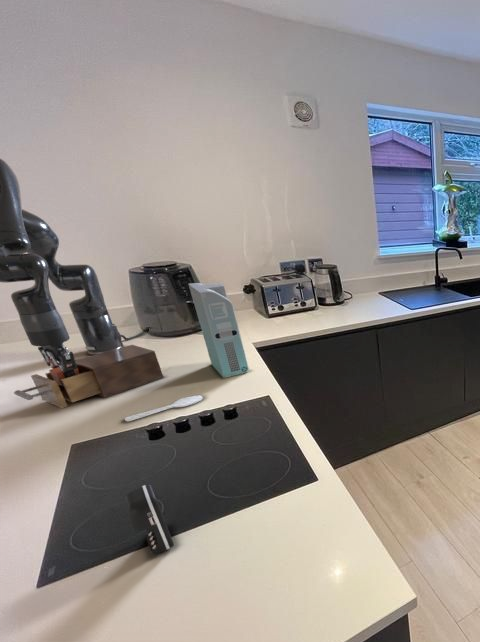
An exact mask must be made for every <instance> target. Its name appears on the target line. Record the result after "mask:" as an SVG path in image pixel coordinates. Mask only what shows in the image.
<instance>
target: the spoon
mask: <svg viewBox="0 0 480 642" xmlns="http://www.w3.org/2000/svg"><path fill="white" fill-rule="evenodd" d="M203 399H204V396H203V395H201V394H200V395H192V396H191V395H190V396H186V397H183V398H180V399H177V400H176V401H174V402H173V403H172V404H167V405H164V406H161V407H157V408H153V409H151V410H147V411H142V412H139V413H137V414H132V415H130V416H127V417H124V420H125V422H131V421H135V420H138V419H141V418H145V417H147V416H151V415H154V414H156V413H159V412H163V411H166V410H169V409H172V408H184V407H187V406H191V405H194V404H197V403H199V402H200V401H202V400H203Z"/></svg>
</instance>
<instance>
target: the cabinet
mask: <svg viewBox="0 0 480 642" xmlns="http://www.w3.org/2000/svg"><path fill="white" fill-rule="evenodd" d="M75 362H76V365H77V366H80V367H83V368H86V369H89V370H91V371H93V374H94V376H95V379H96V381H97V383H98V386H99V388H100V391H101V393H99V394H96V396H99V397H101V398H108V397H111V396H114V395H117V394H120V393H122V392H123V393H124V392H126V391H128V390H131V389H134V388H137V387H140V386H143V385H146V384H149V383H152V382H156V381H157V380H160V379H163V378H164V374H163V371H162V368H161V366H160V363H159V360H158V356H157V355H156V351H155V350H152V349H149V348H147V347H142V346H138V345H135V344H130V345H126V346H124V347H122V348H118V349H115V350H111V351H107V352H103V353H99V354H96V355H89V356H85V357H81V358H77V359H75Z"/></svg>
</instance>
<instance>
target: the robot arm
mask: <svg viewBox="0 0 480 642" xmlns="http://www.w3.org/2000/svg"><path fill="white" fill-rule="evenodd" d="M59 245H60V239H59V237H58V235H57V234H56V232H55V231H54V230H53V229H52V228H51V227H50V226H49V224H48V223H47V222H46V221H45V219H43V218H42V217H40V216H38V215H36V214H34V213H32V212H29V211H27V210H25V209H24V208H23V207H22V196H21V186H20V183H19V180H18V177H17V175H16V173H15V171H14V170H13V168H12V167H11V166H10V165H9V164H8V163H7V161H5V160H4V159H2V158H0V283H3V284H4V283H5V284H7V283H9V284H10V283H20V282H21V283H22V282H30V281H34V284H33V285H32V286H30V287H28V288H24V289H20V290H16V291H14V292H12V293H11V294H10V299H11V301H12V304H13V306H14V307H15V309H16V312H17V313H18V317H19V320H20V323H21V326H22V327H23V330H24V332H25V335H26V336H27V338H28V341H29V343H30V345H31V346H34V347H37V350H38V351H39V353H40V354H41V356H42V358H43V359H44V361H45V363H46V365H47V366H48V367H50V368H51V369H54V368H58V367H59V368H60V369H61V372H63V375H64V377H65V378H68V377H72V376H75V375H76V374H75V372H74V370H75V369H77V366H76V362H75V360H76V359H75V355H74V352H73V351H69V349H68V347H67V346H65V345H64V343H65V342H68V341H69V340H70V334H69V331H68V330H67V328H66V325H65V323H64V320H63V318H62V316H61V315H60V312H59V311H58V309H57V307H56V305H55V302H54V301H53V298H52V295H51V291H50V285H49V280H50V282H51V283H52V284H53V286H55V287H56V288H57V289H58V290H60V291H64V292H77V291H78V292H79V291H84V296H82V297H80V298H77V299H74V300H71V301H70V302H69V303H68V305H69V309H70V312H71V313H72V316H73V318H74V320H75V323H76V326H77V328H78V330H79V333H80V335H81V337H82V340H83V343H84V345H85V346H84V349H86V350H87V353H88V355H90V356H92V355H96V354H99V353H103V352H107V351H111V350H115V349H118V348H122V347H125V346H124V342H123V340H125V341H130V340H133V339H136V338H139V337H142V336H143V335H145V334H147V333H148V332H144V331H143V332H140V333H138V334H136V335H134V336H130V337H126V336H125V335H124V334H121V333H120V332H119V330H118V327H117V324H115V323H113V321H112V319H111V315H110V313H109V311H108V308H107V306H106V303H105V298H104V294H103V291H102V288H101V285H100V281H99V278H98V275H97V273H96V271H95V269H94V267H92V266H91V265H89V264H61V263H59V262H58V261H57V260H56V256H57V252H58V249H59V247H60V246H59ZM122 339H123V340H122ZM67 365H69V367H67Z"/></svg>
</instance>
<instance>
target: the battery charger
mask: <svg viewBox="0 0 480 642" xmlns="http://www.w3.org/2000/svg"><path fill="white" fill-rule="evenodd" d="M124 499H125V500H124V501H125V504H126V508H127V512H128V514H129V517H130V520H131V524H132V526H133V528H134V530H135V531H136V532H142V531H145V530H147V531H148V533H147V534H146V542H147V545H148V547H149V551H150V552H151V554H153V555H156V554H160V553H162V552H164V551H167V550H170V549H172V548H173V547H174V546H175V543H174V540H173V537H172V535H171V532H170V530H169V527H168V524H167V522H166V519H165V517H164V514H163V512H162V510H161V507H160V504H159V502H158V500H157V497H156V494H155V492H154V489H153V487H152V485H151V484H150V483H149V484H144V485H142V486H139V487H137V488H135V489H132V490H130V491H128V492H127V493H126V494H125V496H124Z"/></svg>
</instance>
